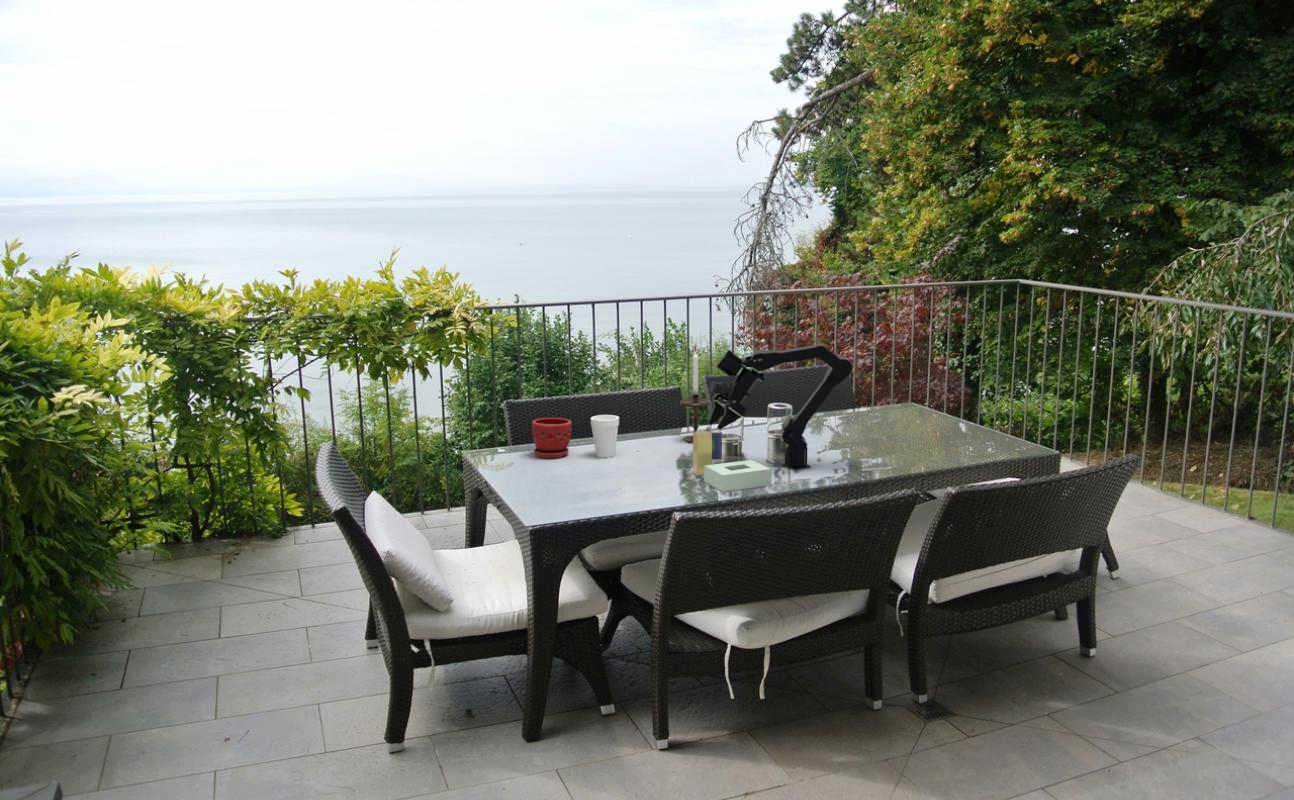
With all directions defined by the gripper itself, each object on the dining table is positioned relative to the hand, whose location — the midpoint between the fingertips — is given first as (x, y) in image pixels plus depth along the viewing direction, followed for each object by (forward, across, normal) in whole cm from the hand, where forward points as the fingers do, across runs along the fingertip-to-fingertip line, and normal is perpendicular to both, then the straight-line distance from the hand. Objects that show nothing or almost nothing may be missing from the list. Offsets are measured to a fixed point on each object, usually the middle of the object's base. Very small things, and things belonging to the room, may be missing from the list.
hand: (713, 426), depth 297 cm
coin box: (+10, +17, +10) cm, 23 cm away
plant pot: (+38, -33, -30) cm, 59 cm away
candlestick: (+7, -40, +12) cm, 42 cm away
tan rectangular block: (+14, +4, +4) cm, 15 cm away
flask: (+9, -15, +10) cm, 20 cm away
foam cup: (+28, -27, -16) cm, 42 cm away
